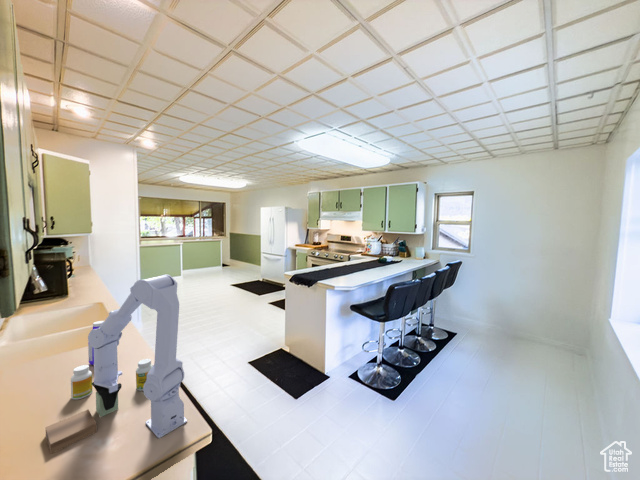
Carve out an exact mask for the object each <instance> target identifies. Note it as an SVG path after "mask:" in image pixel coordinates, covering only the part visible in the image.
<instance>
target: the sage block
mask: <svg viewBox="0 0 640 480" xmlns="http://www.w3.org/2000/svg"><path fill="white" fill-rule="evenodd" d="M95 410H96V411H95V412H96V413H97V414H98V416H99V417H100V418H102V417H104V416H107V415H108V414H111V413H112V412H115V411H116V410H119V394H118V395H117V398H116V402H115V405H114V407H113V408H111V409H109V410H105V408H104V405H103V400H102V398H101V396H100V395H99V393H98V392H97V391H96V392H95Z"/></svg>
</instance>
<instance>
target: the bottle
mask: <svg viewBox="0 0 640 480" xmlns="http://www.w3.org/2000/svg"><path fill="white" fill-rule="evenodd" d="M104 321H105V320H98V321H94V322H93V323H92V328H91V330H93V329H97V328H99V327H100V326H101V324H102V322H104ZM87 345H88V346H87V349H88V365H92V366H94V348H93V347H92V346H91V345H90V344H89V342H87Z"/></svg>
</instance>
